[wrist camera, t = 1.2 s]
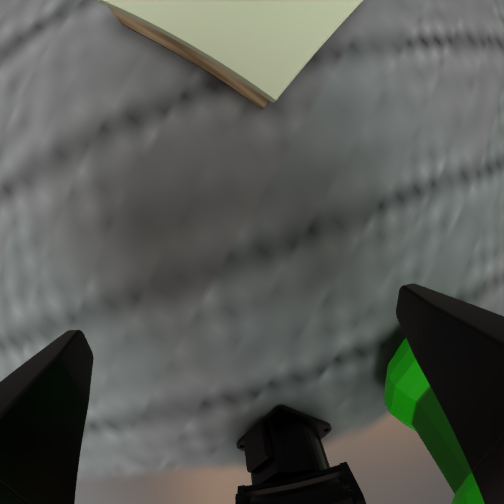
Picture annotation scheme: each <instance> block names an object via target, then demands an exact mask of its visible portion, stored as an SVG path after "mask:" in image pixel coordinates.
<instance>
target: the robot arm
mask: <svg viewBox="0 0 504 504" xmlns="http://www.w3.org/2000/svg"><path fill="white" fill-rule="evenodd" d="M396 315H397V319H398V321H399V323H400V325H401V327H402V330H403V332H404V334H405V336H406V339H407V341H408V343H409V346H410V348H411V350H412V353H413V355H414V357H415V359H416V361H417V363H418V365H419V366H420V368H421V370H422V372H423V374H424V375H425V377H426V379H427V381H428V383H429V385H430V387H431V388H432V390H433V392H434V394H435V396H436V398H437V400H438V402H439V404H440V406H441V408H442V410H443V412H444V414H445V416H446V418H447V420H448V422H449V424H450V426H451V428H452V430H453V432H454V434H455V436H456V438H457V440H458V442H459V444H460V447H461V449H462V451H463V453H464V455H465V458H466V460H467V462H468V464H469V467H470V469H471V471H473V472H472V474H473V476H474V479H475V481H476V483H477V486H478V488H479V491H480V493H481V496H482V498H483V501H484V503H485V504H504V316H501V315H499V314H496V313H493V312H491V311H488V310H485V309H483V308H480V307H477V306H475V305H472V304H469V303H466V302H464V301H461V300H458V299H456V298H453V297H450V296H447V295H445V294H442V293H439V292H436V291H434V290H431V289H428V288H425V287H423V286H420V285H417V284H408V285H403V286H402V287H401V288H400V290H399V295H398V301H397V307H396ZM92 367H93V353H92V351H91V348H90V346H89V344H88V342H87V340H86V338H85V336H84V334H83V332H82V331H81V330H69V331H67V332H65V333H64V334H63V335H61V336H60V337H58V338H57V339H56V340H54V341H53V342H52V343H50V344H49V345H48V346H46V347H45V348H44V349H42V350H41V351H40V352H38V353H37V354H36V355H34V356H33V357H32V358H31V359H29V360H28V361H27V362H25V363H24V364H23V365H21V366H20V367H19V368H18V369H16V370H15V371H14V372H12V373H11V374H10V375H9V376H7V377H6V378H5V379H3V380H2V381H1V382H0V504H74V501H75V490H76V481H77V472H78V465H79V457H80V450H81V444H82V438H83V432H84V426H85V420H86V415H87V409H88V403H89V394H90V384H91V375H92ZM279 411H281V412H279ZM330 431H331V426H330V424H327V423H325V422H322V421H319V420H317V419H314V418H312V417H309V416H306V415H304V414H301V413H299V412H296V411H294V410H292V409H289V408H287V407H284V406H277V407H276V408H275V409H274V410H272V411H271V412H270V413H269V414H268V415H267V416H266V417H265V418H264V419H263V420H262V421H260V422H259V423H258V424H257V425H256V426H255V427H254V428H252V429H251V430H250V431H249V432H248V433H247V434H246V435H245V436H244V437H242V438H241V439H240V440H239V441H238V442H237V448H238V449H241V450H243V451H245V455H246V465H247V471H248V472H250V473H251V478H252V485H249V486H245V485H243V486H238V493H237V494H236V497H235V499H236V504H366V502H365V499H364V496H363V494H362V492H361V490H360V488H359V486H358V484H357V482H356V480H355V478H354V476H353V474H352V472H351V470H350V468H349V466H348V464H347V462H344V463H340V465H337V466H334V467H330V466H329V463H328V461H327V457H326V454H325V451H324V448H323V445H322V442H321V439H322V438H323V437H324V436H325V435H326V434H328V433H329V432H330Z"/></svg>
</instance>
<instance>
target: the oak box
mask: <svg viewBox="0 0 504 504" xmlns="http://www.w3.org/2000/svg"><path fill="white" fill-rule="evenodd" d="M109 8H110V7H109ZM110 10H111V11H112V12H113V13H114V15H115V16H116V17H117V18H118V19H119V21H120V22H121V23H122V24H123V25H124V26H126V27H128V28H130V29H132V30H134V31H136V32H138V33H140V34H142V35H144V36H146V37H148V38H150V39H151V40H153V41H155V42H157V43H159V44H161V45H162V46H164V47H166V48H168V49H169V50H171V51H173V52H175V53H176V54H178V55H180V56H182V57H183V58H185V59H187V60H188V61H190V62H192V63H193V64H195V65H197V66H198V67H200V68H201V69H203V70H205V71H206V72H208V73H209V74H211V75H213V76H214V77H216V78H217V79H219V80H220V81H222V82H223V83H225V84H226V85H228V86H230V87H231V88H233V89H234V90H235V91H237V92H238V93H240V94H241V95H243V96H244V97H246V98H247V99H249V100H250V101H252V102H253V103H254V104H256V105H257V106H259V107H260V108H261V109H263V108H264V107H265V106H266V105H267V103H268V102H269V101H270V100H268V99H267V98H266V97H264V96H263V95H261V94H260V93H259V92H257V91H256V90H254V89H253V88H251V87H250V86H249V85H247V84H246V83H244V82H243V81H241V80H240V79H238V78H237V77H235V76H234V75H232V74H231V73H229V72H227V71H226V70H224V69H223V68H221V67H220V66H218V65H216V64H215V63H213V62H212V61H210V60H208V59H207V58H205V57H203V56H202V55H200V54H198V53H197V52H195V51H193V50H192V49H190V48H188V47H187V46H185V45H183V44H181V43H180V42H178V41H176V40H174V39H172V38H171V37H169V36H167V35H165V34H163V33H161V32H160V31H158V30H156V29H154V28H152V27H150V26H148V25H146V24H144V23H142V22H140V21H138V20H136V19H134V18H132V17H130V16H128V15H126V14H124V13H121V12H119V11H117V10H115V9H113V8H110Z"/></svg>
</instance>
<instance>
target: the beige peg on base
mask: <svg viewBox="0 0 504 504" xmlns="http://www.w3.org/2000/svg"><path fill="white" fill-rule="evenodd" d="M97 1H98V2H99V3H101V4H104V5H106V6H108V7H110V8H113V9H115V10H117V11H119V12H121V13H124V14H126V15H128V16H130V17H132V18H134V19H136V20H138V21H140V22H142V23H144V24H146V25H148V26H150V27H152V28H154V29H156V30H158V31H160V32H161V33H163V34H165V35H167V36H169V37H171V38H172V39H174V40H176V41H178V42H180V43H181V44H183V45H185V46H187V47H188V48H190V49H192V50H193V51H195V52H197V53H198V54H200V55H202V56H203V57H205V58H207V59H208V60H210V61H212V62H213V63H215V64H216V65H218V66H220V67H221V68H223V69H224V70H226V71H227V72H229V73H231V74H232V75H234V76H235V77H237V78H238V79H240V80H241V81H243V82H244V83H246V84H247V85H249V86H250V87H251V88H253V89H254V90H256V91H257V92H259V93H260V94H261V95H263V96H264V97H266V98H267V99H268V100H270V101H271V102H273V103H274V102H275V101H276V100H277V99H278V97H279V96H280V95H281V94H282V92H283V91H284V90H285V89H286V88H287V86H288V85H289V84H290V83H291V81H292V80H293V79H294V78H295V77H296V75H297V74H298V73H299V72H300V71H301V69H302V68H303V67H304V66H305V65H306V63H307V62H308V61H309V60H310V59H311V58H312V56H313V55H314V54H315V53H316V52H317V51H318V49H319V48H320V47H321V46H322V45H323V44H324V43H325V41H326V40H327V39H328V38H329V37H330V36H331V35H332V34H333V32H334V31H335V30H336V29H337V28H338V27H339V26H340V25H341V24H342V22H343V21H344V20H345V19H346V18H347V17H348V16H349V15H350V14H351V13H352V12H353V10H354V9H355V8H356V7H357V6H358V5H359V4H360V3H361V2H362V1H363V0H97Z"/></svg>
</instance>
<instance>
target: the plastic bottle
mask: <svg viewBox="0 0 504 504" xmlns="http://www.w3.org/2000/svg"><path fill="white" fill-rule="evenodd" d="M384 399H385V405H386V407H387V408H388V410H389V412H390V413H391V414H392V415H393V416H395V417H396V418H397V419H398V420H400V421H401V422H402V423H403V424H405V425H406V426H408V427H409V428H411V429H413V430H415V431H417V433H418V434H419V436H420V438H421V439H422V441H423V442H424V444H425V445H426V447H427V449H428V451H429V452H430V454H431V455H432V457H433V459H434V460H435V462H436V464H437V465H438V467H439V469H440V470H441V472H442V473H443V475H444V477H445V478H446V480H447V482H448V483H449V485H450V487H451V488H452V490H453V492H454V494H455V496H454V499H453V502H452V504H485V503H484V501H483V498H482V496H481V493H480V491H479V488H478V486H477V483H476V481H475V479H474V476H473V474H472V472H473V471H471V469H470V467H469V464H468V462H467V460H466V458H465V455H464V453H463V451H462V449H461V447H460V444H459V442H458V440H457V438H456V436H455V434H454V432H453V430H452V428H451V426H450V424H449V422H448V420H447V418H446V416H445V414H444V412H443V410H442V408H441V406H440V404H439V402H438V400H437V398H436V396H435V394H434V392H433V390H432V388H431V387H430V385H429V383H428V381H427V379H426V377H425V375H424V374H423V372H422V370H421V368H420V366H419V365H418V363H417V361H416V359H415V357H414V355H413V353H412V350H411V348H410V346H409V343H408V341H407V339H406V338H405V339H404V341H403V342H402V343H401V345H400V346H399V348H398V349H397V350H396V352H395V355H394V356H393V358H392V359H391V361H390V362H389V364H388V367H387V374H386V382H385V390H384Z"/></svg>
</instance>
